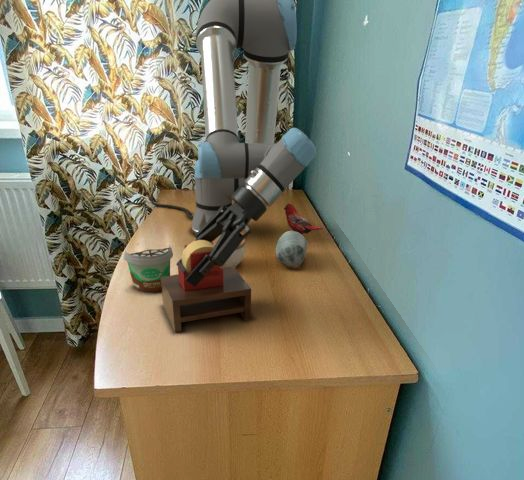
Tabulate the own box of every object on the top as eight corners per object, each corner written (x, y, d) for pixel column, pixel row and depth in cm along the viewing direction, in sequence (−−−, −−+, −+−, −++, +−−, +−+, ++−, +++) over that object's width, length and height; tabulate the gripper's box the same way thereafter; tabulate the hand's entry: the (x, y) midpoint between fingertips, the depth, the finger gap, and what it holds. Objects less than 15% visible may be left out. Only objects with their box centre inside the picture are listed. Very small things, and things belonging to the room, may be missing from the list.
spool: (311, 263, 126) (298, 228, 124) (279, 275, 129) (266, 241, 126) (314, 255, 139) (303, 224, 136) (285, 266, 141) (273, 236, 139)
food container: (134, 298, 113) (128, 260, 107) (127, 287, 117) (122, 251, 111) (181, 289, 118) (179, 253, 112) (174, 279, 122) (171, 243, 116)
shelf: (163, 306, 110) (160, 276, 105) (233, 295, 116) (233, 266, 111) (175, 332, 101) (172, 300, 96) (250, 319, 107) (251, 288, 102)
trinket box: (251, 262, 133) (251, 231, 127) (233, 276, 125) (234, 244, 119) (218, 254, 136) (218, 224, 131) (200, 268, 128) (198, 236, 123)
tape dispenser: (178, 281, 104) (175, 241, 98) (217, 275, 107) (216, 236, 101) (184, 291, 100) (181, 250, 95) (224, 285, 103) (224, 245, 98)
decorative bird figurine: (285, 230, 156) (287, 200, 150) (324, 246, 145) (328, 215, 139) (279, 232, 154) (281, 202, 148) (318, 248, 144) (321, 217, 138)
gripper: (228, 171, 102) (162, 248, 106) (262, 198, 87) (184, 286, 91) (250, 194, 107) (186, 266, 111) (285, 222, 92) (210, 305, 96)
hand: (185, 275), depth 101 cm, fingers open, 7 cm apart
